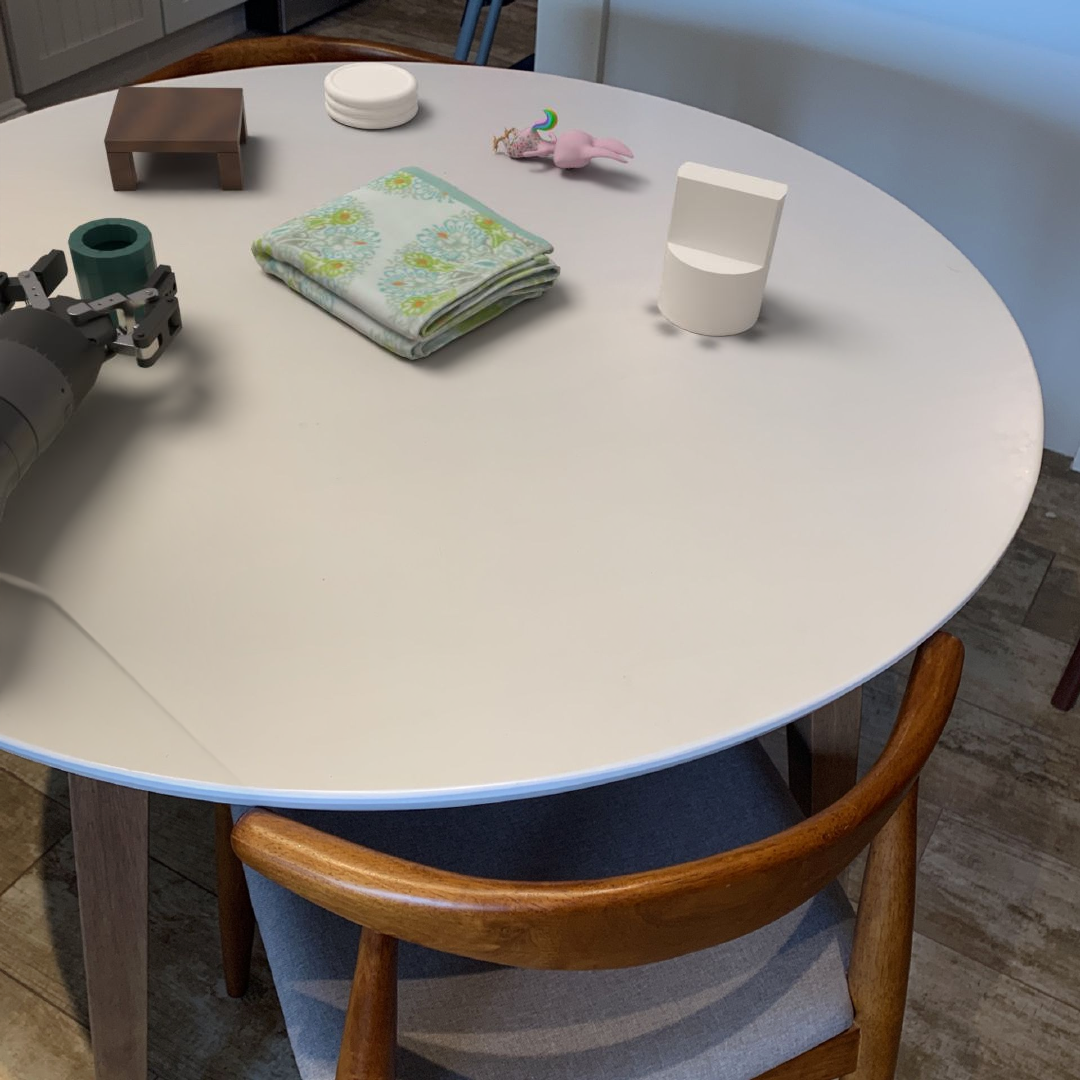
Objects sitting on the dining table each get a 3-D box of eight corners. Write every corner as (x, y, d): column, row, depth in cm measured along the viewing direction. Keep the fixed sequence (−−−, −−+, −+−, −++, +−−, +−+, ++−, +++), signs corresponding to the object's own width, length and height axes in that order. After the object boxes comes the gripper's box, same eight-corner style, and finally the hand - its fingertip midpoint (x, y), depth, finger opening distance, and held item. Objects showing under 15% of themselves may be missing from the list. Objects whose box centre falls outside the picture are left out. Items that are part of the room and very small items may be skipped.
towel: (416, 374, 94) (415, 319, 90) (250, 269, 104) (243, 215, 100) (567, 293, 104) (572, 241, 101) (403, 204, 114) (402, 154, 110)
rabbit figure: (487, 171, 123) (618, 188, 117) (480, 114, 119) (616, 128, 113) (515, 149, 127) (643, 164, 121) (509, 93, 123) (642, 105, 117)
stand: (113, 190, 112) (103, 140, 109) (127, 134, 121) (118, 86, 117) (242, 190, 114) (237, 140, 110) (247, 135, 122) (242, 87, 119)
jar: (85, 353, 93) (62, 257, 87) (95, 311, 97) (74, 217, 91) (164, 351, 94) (146, 256, 88) (170, 310, 98) (154, 217, 92)
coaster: (379, 139, 124) (378, 107, 121) (306, 112, 127) (304, 80, 125) (436, 109, 130) (436, 77, 127) (365, 84, 133) (364, 53, 131)
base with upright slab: (644, 319, 102) (663, 190, 94) (674, 271, 108) (694, 146, 100) (744, 346, 100) (773, 217, 92) (769, 295, 106) (798, 170, 98)
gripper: (109, 357, 77) (197, 235, 88) (-101, 327, 77) (14, 210, 89) (129, 447, 82) (209, 321, 93) (-68, 418, 83) (37, 296, 94)
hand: (114, 267), depth 91 cm, fingers open, 8 cm apart
